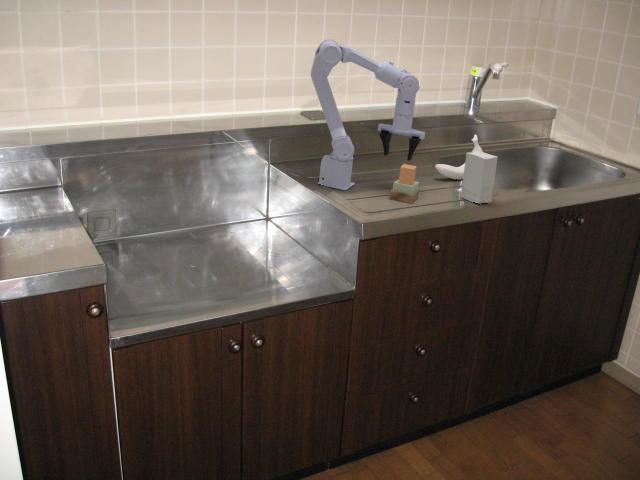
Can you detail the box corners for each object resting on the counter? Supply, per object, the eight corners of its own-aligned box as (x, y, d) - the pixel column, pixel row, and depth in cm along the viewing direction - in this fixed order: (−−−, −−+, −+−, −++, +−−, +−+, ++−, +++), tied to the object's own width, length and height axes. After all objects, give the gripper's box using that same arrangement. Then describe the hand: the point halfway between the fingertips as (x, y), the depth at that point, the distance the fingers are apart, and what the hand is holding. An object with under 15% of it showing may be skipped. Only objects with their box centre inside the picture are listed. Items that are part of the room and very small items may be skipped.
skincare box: (491, 203, 218) (500, 157, 212) (477, 205, 215) (486, 158, 209) (471, 194, 224) (480, 149, 218) (458, 196, 221) (466, 151, 215)
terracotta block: (398, 182, 211) (400, 167, 210) (401, 179, 215) (403, 163, 213) (411, 185, 210) (413, 169, 208) (414, 182, 214) (416, 166, 212)
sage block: (392, 190, 212) (393, 182, 212) (399, 185, 217) (400, 177, 217) (411, 194, 210) (412, 186, 209) (417, 189, 215) (419, 182, 214)
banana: (432, 179, 236) (439, 136, 230) (471, 173, 247) (478, 133, 241) (442, 183, 232) (449, 140, 227) (481, 178, 243) (489, 136, 237)
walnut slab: (389, 200, 213) (390, 190, 212) (396, 194, 219) (397, 185, 218) (411, 205, 210) (412, 195, 209) (417, 199, 216) (419, 189, 215)
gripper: (376, 111, 212) (371, 155, 217) (422, 120, 207) (415, 164, 212) (384, 108, 218) (379, 150, 223) (429, 116, 213) (422, 159, 218)
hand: (397, 157), depth 218 cm, fingers open, 7 cm apart
